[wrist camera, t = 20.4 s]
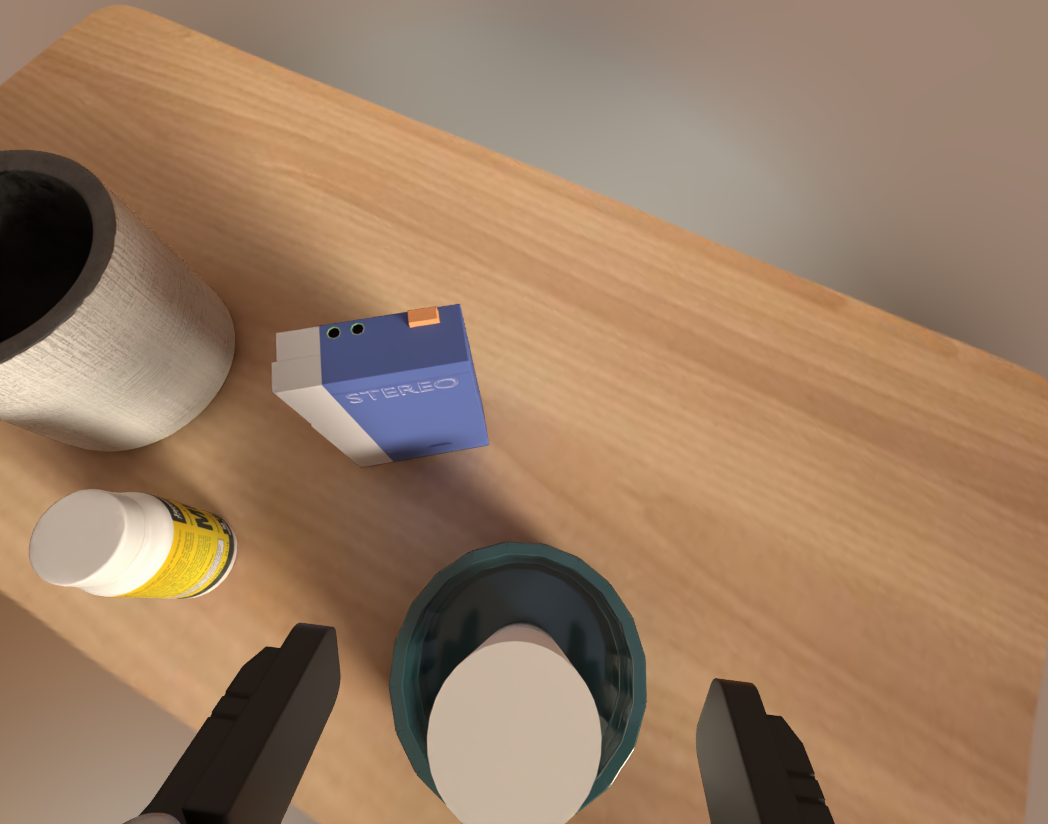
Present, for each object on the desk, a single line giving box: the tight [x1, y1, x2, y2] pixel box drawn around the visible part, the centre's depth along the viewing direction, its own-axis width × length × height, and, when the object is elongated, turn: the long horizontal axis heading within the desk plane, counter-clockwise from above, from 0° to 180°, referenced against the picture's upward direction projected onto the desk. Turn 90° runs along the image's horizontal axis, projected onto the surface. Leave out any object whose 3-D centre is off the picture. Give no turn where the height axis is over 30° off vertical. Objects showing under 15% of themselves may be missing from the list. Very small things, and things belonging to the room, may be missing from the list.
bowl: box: [389, 542, 647, 815], centre depth 25 cm, size 11×11×5 cm
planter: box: [0, 150, 235, 452], centre depth 28 cm, size 13×12×11 cm
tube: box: [427, 622, 602, 824], centre depth 20 cm, size 4×4×15 cm
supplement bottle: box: [29, 489, 237, 599], centre depth 26 cm, size 5×5×8 cm
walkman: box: [272, 304, 489, 467], centre depth 26 cm, size 8×3×12 cm, turn 100°
